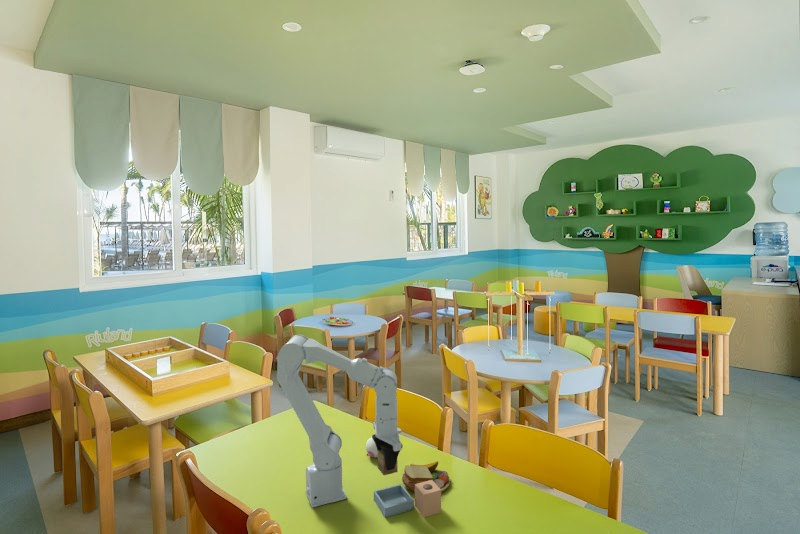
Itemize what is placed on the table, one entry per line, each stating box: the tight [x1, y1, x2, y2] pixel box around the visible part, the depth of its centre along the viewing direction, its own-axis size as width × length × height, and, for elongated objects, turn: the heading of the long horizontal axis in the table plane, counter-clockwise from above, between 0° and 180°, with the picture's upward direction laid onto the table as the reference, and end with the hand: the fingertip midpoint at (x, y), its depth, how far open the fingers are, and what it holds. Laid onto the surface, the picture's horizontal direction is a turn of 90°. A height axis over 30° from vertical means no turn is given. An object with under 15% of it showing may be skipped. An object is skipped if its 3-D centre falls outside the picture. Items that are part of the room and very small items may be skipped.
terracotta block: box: [414, 480, 442, 518], centre depth 116 cm, size 5×5×6 cm
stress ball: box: [365, 436, 378, 458], centre depth 143 cm, size 8×8×7 cm
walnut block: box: [377, 450, 398, 476], centre depth 121 cm, size 4×4×5 cm
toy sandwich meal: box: [401, 460, 451, 493], centre depth 127 cm, size 12×14×5 cm
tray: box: [373, 483, 415, 519], centre depth 118 cm, size 8×8×2 cm
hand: (387, 464), depth 121 cm, fingers closed on walnut block, 4 cm apart
